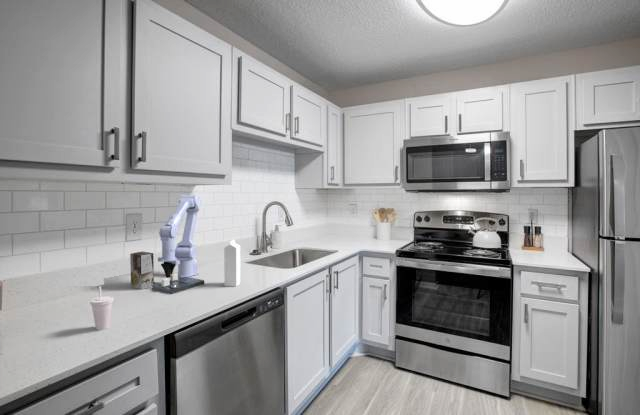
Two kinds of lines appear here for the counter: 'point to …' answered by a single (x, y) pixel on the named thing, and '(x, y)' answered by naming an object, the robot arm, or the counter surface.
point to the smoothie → (102, 311)
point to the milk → (232, 264)
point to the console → (179, 285)
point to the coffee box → (142, 270)
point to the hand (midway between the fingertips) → (168, 277)
